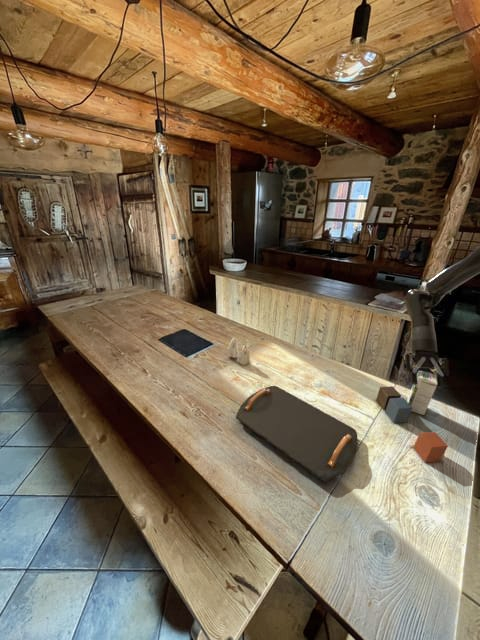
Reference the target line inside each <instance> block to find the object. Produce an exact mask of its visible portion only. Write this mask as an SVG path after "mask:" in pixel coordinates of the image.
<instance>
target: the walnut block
mask: <svg viewBox="0 0 480 640" xmlns="http://www.w3.org/2000/svg"><path fill="white" fill-rule="evenodd" d="M390 398H402V395H401V393H400V392H399V391H398V390H397V389H396V388H395V387H394V386H393V385H391V386H380V387H379V390H378V393H377V396H376V398H375V401H376V402H377V404H378V405H379V407H381V409H382V410H383V411H386V408H387V405H388V402H389V399H390Z"/></svg>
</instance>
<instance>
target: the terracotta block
mask: <svg viewBox="0 0 480 640" xmlns="http://www.w3.org/2000/svg"><path fill="white" fill-rule="evenodd" d="M448 446H449V445H448V444H447V443H446V442H445V440H443V439H442V438H441V437H440V436H439V434H438V433H437V432H435V431H429V432H420V433H419V434H418V436H417V438H416V441H415V442H414V445H413V450H414V451H415V452H416V453H417V455H419V458H420V459H422V461H423V462H424V463H434V462H435V463H436V462H442V459H443V457H444V455H445V453H446V451H447V449H448Z"/></svg>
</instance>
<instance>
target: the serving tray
mask: <svg viewBox="0 0 480 640" xmlns="http://www.w3.org/2000/svg"><path fill="white" fill-rule="evenodd" d="M235 418H236V420H237V421H239V422H240V423H241V424H243V425H244V426H246V428H248V429H250V430H252V432H254V433H255V434H256V435H258V436H259V437H261V438H263V439H264V440H266V441H267V442H268V443H269V444H270V445H271V446H273V447H274V448H276V449H277V450H279V452H282V453H283V454H285V455H286V456H287V457H288V458H289V459H290V460H292V461H293V462H296V463H297V464H299V465H300V466H301V467H303V468H304V469H306V470H307V471H308V472H310V473H311V474H313V475H314V476H315V477H317V478H318V479H320V480H321V481H322V482H324V483H327V482H328V481H330V480H332V479H334V478H335V477H337V476H340V475H341V474H342V473H344V471H345V470H346V469H348V468H349V467H350V466H351V464H352V462H353V461H354V459H355V457H356V456H357V451H358V445H359V444H358V443H359V442H358V432H357V430H356V429H354V427H352V426H350V425H349V424H346V423H345V422H343V421H341V420H339V419H338V418H335V417H333V416H332V415H331V414H328V413H326V412H325V411H323V410H321V409H319V408H318V407H315V406H313V405H312V404H311V403H308V402H306V401H305V400H303V399H301V398H299V397H298V396H295V395H293V394H292V393H290V392H289V391H286V390H285V389H282V388H281V387H279V386H276V385H270V386H266V387H265V388H262V389H259V390H257V391H256V392H254V393H252V394H250V395H249V396H248V397H247V398H246V399H245V400H244V401H243V403H241V405H240V407H239V409H238V411H237V413H236V415H235Z"/></svg>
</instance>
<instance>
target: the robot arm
mask: <svg viewBox="0 0 480 640" xmlns="http://www.w3.org/2000/svg"><path fill="white" fill-rule="evenodd" d="M479 274H480V245H478V246H477V247H476V248H475V250H473V251H472V252H471V253H470V254H469V255H468V256H466V257H465V258H463V259H462V260H460V261H459V262H457V263H455V264H453V265H451V266H449V267H447V268H445V269H443V270H442V271H441V272H439V273H438V274H437V275H435V276H434V277H433V278H431V279H430V280H429V281H428V282H427V284H426V290H427V291H426V290H423V289H419V288H418V289H417V288H412V289H410V290H408V291H407V292H406V293H405V296H404V306H405V308H406V311H407V313H408V316H409V319H410V329H411V332H410V340H411V352H412V354H409V353H405V354H403V355H402V365H403V371H404V372H407V373H408V374H409V378H410V379H409V380H410V381H409V382H410V383H411V385H412V386H413V385H416V384H417V374H418V371H419V369H428V370H430V371H431V373H432V372H433V374H434V375H436V376H437V386H436V389H442V388H443V387H444V386H445V385H444V377H445V376H449V375H450V367H449V366H450V365H449V359H448V358H447V357H444V358H442V357H441V358H440V357H439V356H438V343H437V335H436V329H435V322H434V321H435V320H434V316H433V314H432V313H430V312H428V310H431V309H434V308H435V307H437V305H439V303H440V302H441V301H442V299H443V298H444V297H445V296H446V295H448V294H449V293H451V292H452V291H453V290H455V289H457V288H458V287H459V286H461V285H463V284H464V283H466V282H468V281H469V280H470V279H472V278H474V277H475V276H477V275H479ZM411 361H413V362H414V363H413V365H412V366H411Z"/></svg>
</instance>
